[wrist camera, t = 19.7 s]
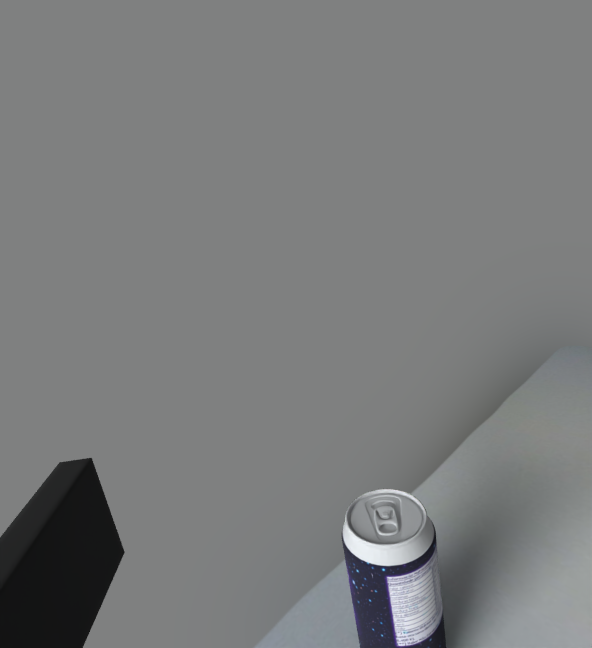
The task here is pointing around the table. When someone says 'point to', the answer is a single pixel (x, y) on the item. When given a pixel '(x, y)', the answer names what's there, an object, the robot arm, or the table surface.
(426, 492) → the table surface
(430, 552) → the beverage can
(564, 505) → the table surface
